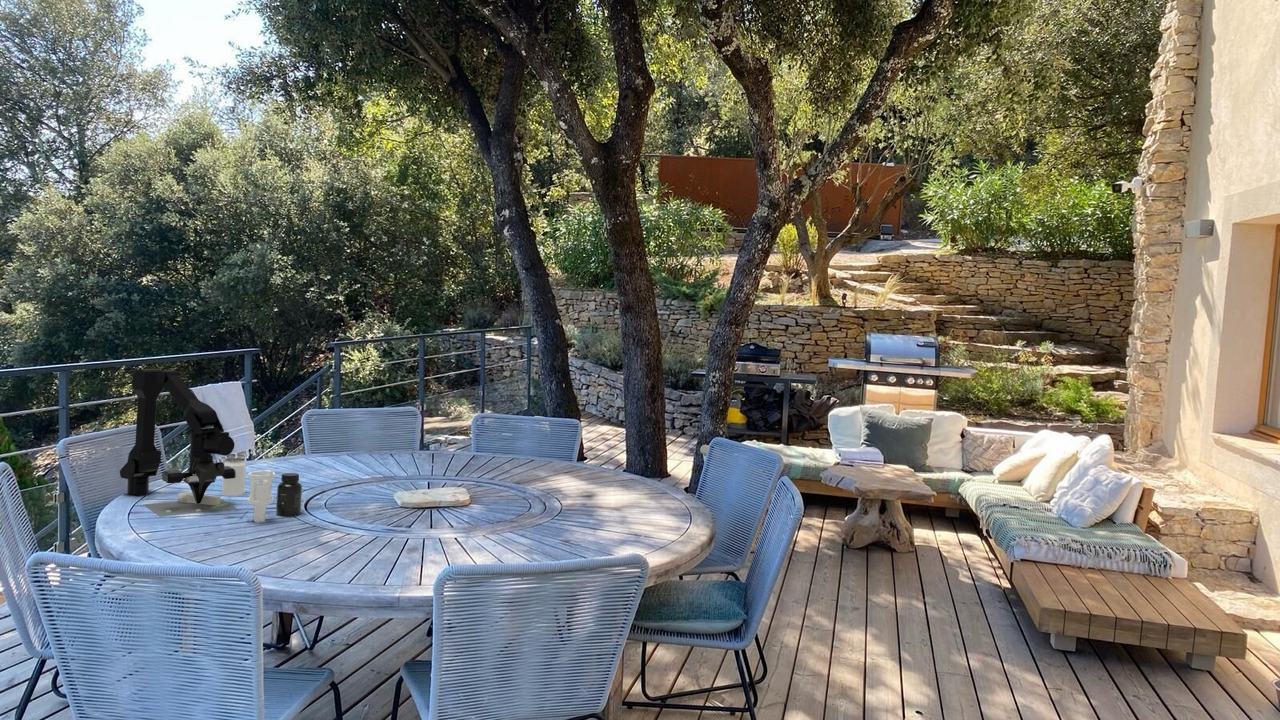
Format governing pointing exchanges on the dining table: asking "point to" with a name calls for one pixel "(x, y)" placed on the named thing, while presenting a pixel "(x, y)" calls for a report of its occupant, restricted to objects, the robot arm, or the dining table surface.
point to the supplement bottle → (289, 495)
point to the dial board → (185, 508)
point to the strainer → (260, 492)
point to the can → (238, 483)
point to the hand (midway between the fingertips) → (198, 503)
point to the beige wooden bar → (205, 500)
